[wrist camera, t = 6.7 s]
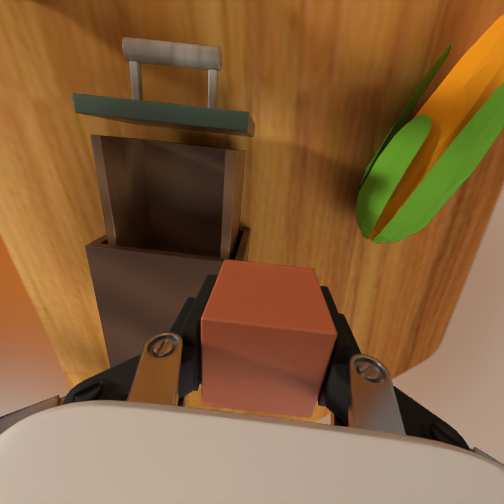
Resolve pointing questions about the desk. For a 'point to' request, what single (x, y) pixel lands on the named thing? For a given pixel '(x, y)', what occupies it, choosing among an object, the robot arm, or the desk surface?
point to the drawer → (169, 162)
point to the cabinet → (146, 290)
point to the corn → (435, 143)
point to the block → (265, 339)
